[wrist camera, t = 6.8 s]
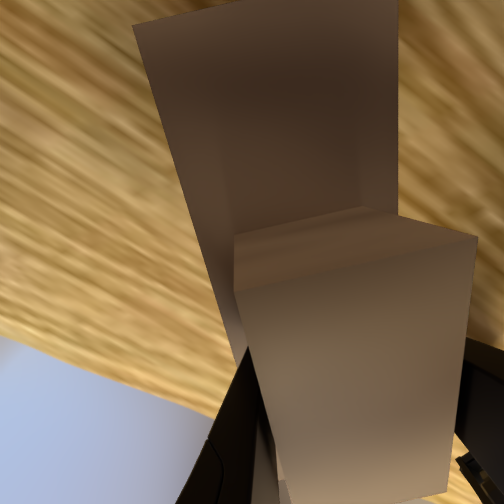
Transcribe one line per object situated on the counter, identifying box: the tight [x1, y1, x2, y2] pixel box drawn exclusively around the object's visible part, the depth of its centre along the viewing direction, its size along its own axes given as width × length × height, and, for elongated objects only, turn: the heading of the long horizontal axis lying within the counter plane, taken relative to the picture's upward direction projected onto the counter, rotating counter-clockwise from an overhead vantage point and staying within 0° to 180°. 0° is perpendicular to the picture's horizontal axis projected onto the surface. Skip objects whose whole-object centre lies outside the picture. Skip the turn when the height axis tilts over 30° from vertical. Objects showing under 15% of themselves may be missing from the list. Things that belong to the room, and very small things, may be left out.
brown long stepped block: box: [132, 0, 478, 504], centre depth 8 cm, size 20×7×6 cm, turn 12°
